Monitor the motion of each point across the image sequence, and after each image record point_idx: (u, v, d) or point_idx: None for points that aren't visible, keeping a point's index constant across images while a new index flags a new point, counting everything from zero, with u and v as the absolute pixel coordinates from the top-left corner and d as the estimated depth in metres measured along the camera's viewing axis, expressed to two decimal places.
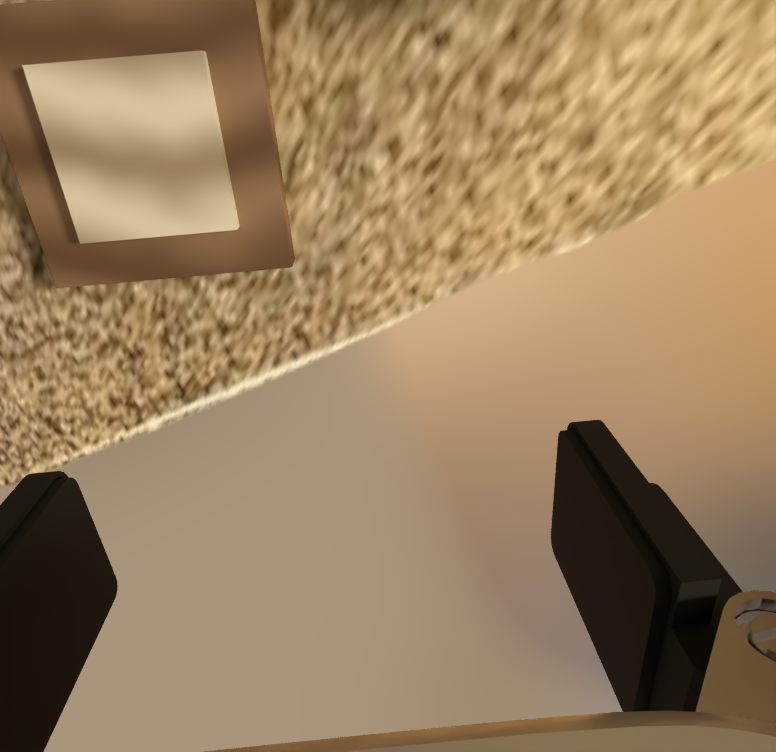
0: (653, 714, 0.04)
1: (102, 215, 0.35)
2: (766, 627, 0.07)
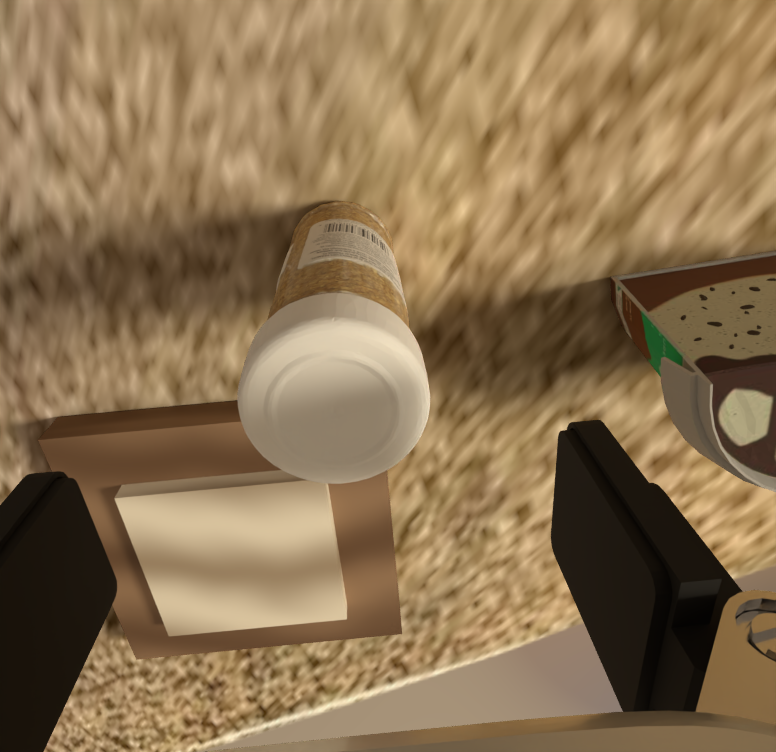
0: (653, 714, 0.04)
1: (196, 613, 0.31)
2: (766, 627, 0.07)
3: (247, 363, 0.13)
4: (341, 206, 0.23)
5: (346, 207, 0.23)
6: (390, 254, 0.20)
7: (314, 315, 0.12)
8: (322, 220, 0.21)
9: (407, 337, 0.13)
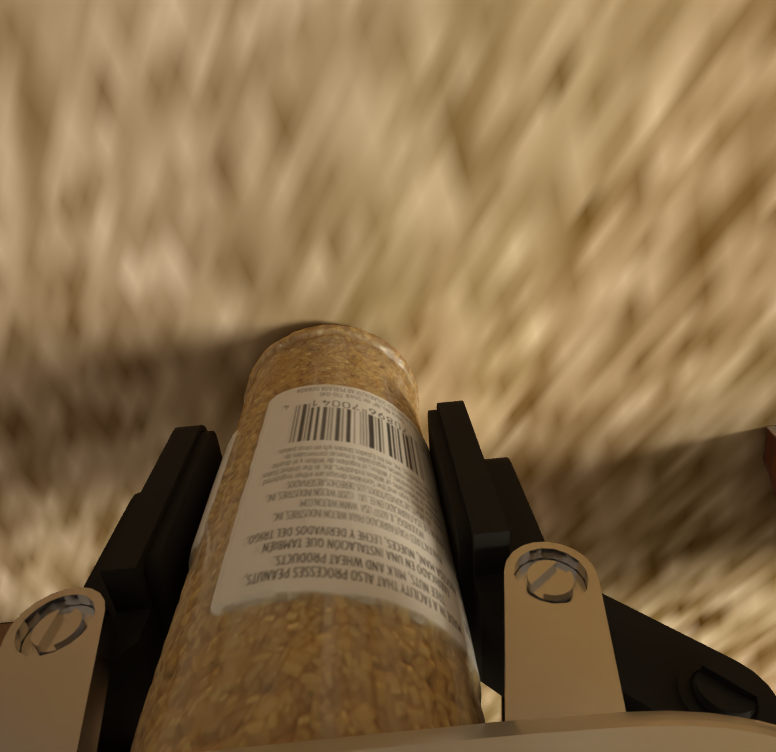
0: (653, 714, 0.04)
1: None
2: (538, 575, 0.07)
3: None
4: (330, 337, 0.13)
5: (339, 339, 0.13)
6: (423, 462, 0.10)
7: None
8: (293, 381, 0.11)
9: None
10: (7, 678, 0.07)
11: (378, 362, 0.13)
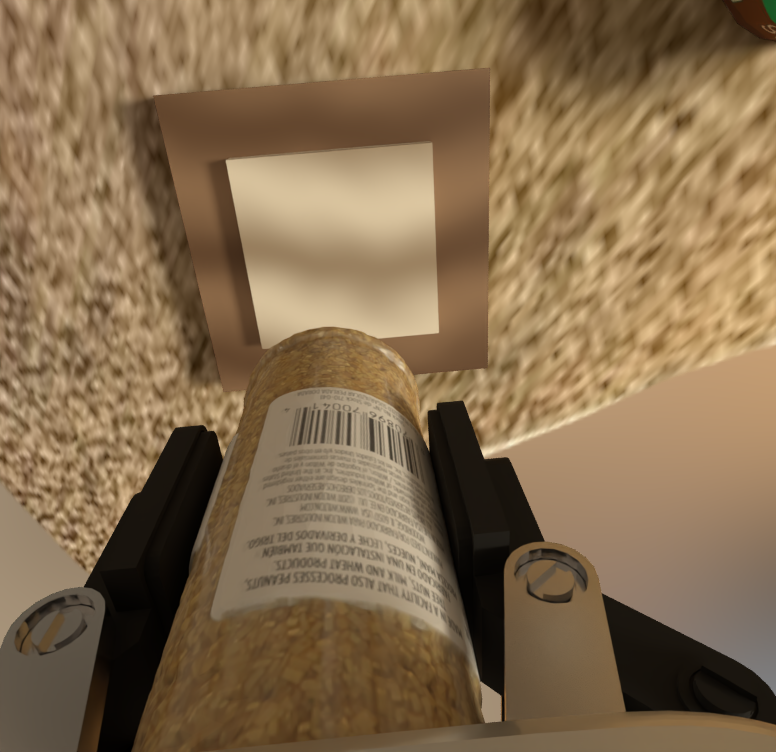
0: (653, 714, 0.04)
1: (292, 319, 0.31)
2: (538, 575, 0.07)
3: None
4: (331, 339, 0.13)
5: (339, 342, 0.13)
6: (424, 465, 0.10)
7: None
8: (294, 384, 0.11)
9: None
10: (7, 678, 0.07)
11: (379, 364, 0.13)
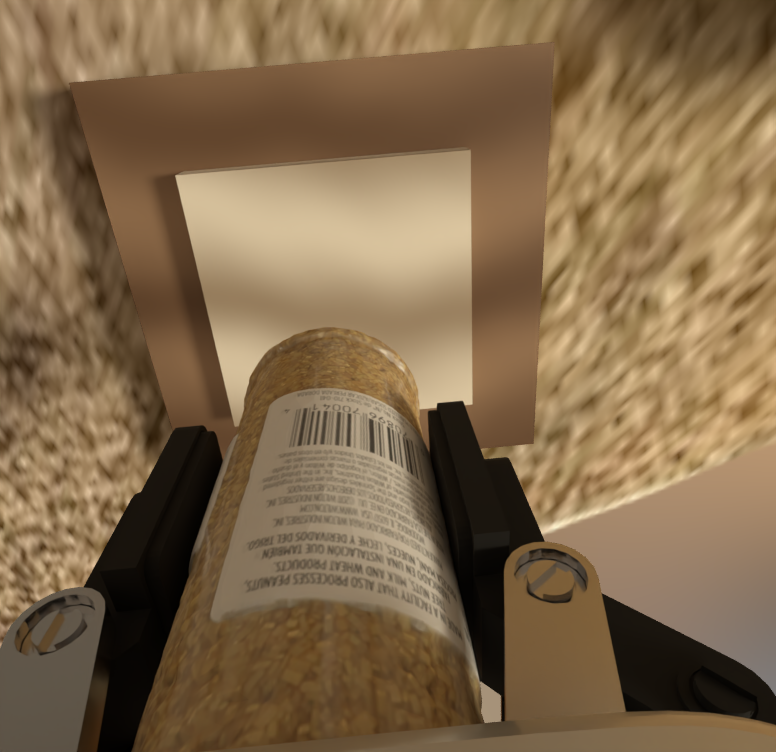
0: (653, 714, 0.04)
1: None
2: (538, 574, 0.07)
3: None
4: (331, 340, 0.13)
5: (339, 342, 0.13)
6: (424, 466, 0.10)
7: None
8: (293, 385, 0.11)
9: None
10: (7, 678, 0.07)
11: (379, 365, 0.13)
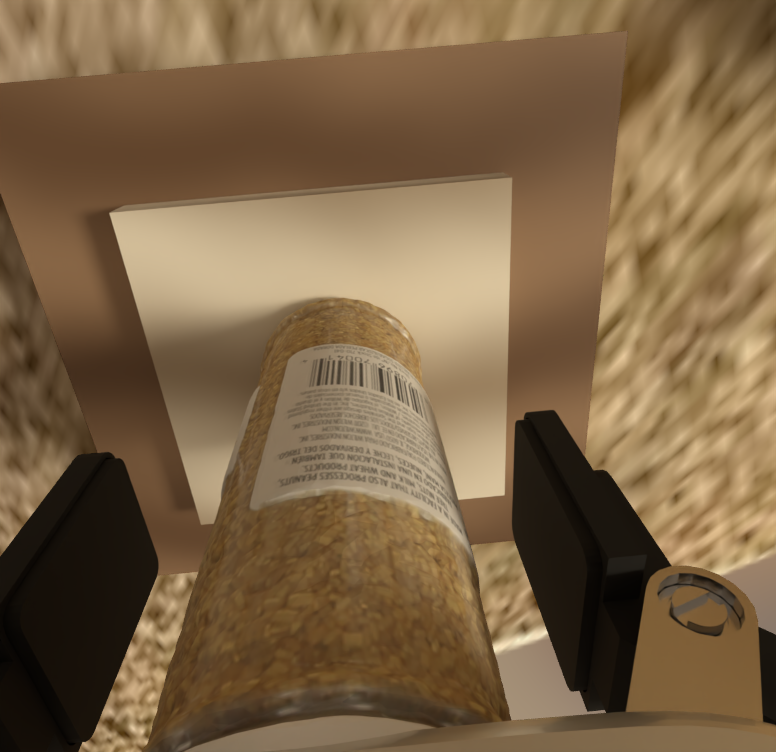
0: (653, 714, 0.04)
1: None
2: (685, 600, 0.07)
3: None
4: (341, 308, 0.14)
5: (349, 310, 0.14)
6: (427, 410, 0.12)
7: None
8: (309, 343, 0.13)
9: None
10: None
11: (385, 330, 0.14)
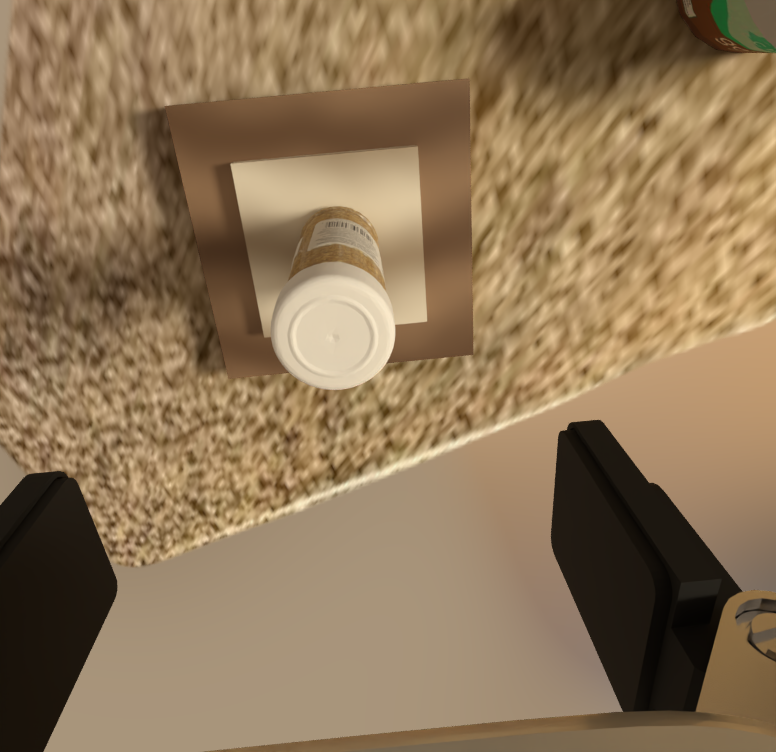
0: (653, 714, 0.04)
1: None
2: (766, 627, 0.07)
3: (277, 305, 0.20)
4: (338, 210, 0.30)
5: (342, 210, 0.30)
6: (374, 244, 0.27)
7: (320, 273, 0.19)
8: (324, 219, 0.28)
9: (380, 289, 0.20)
10: None
11: (359, 219, 0.30)
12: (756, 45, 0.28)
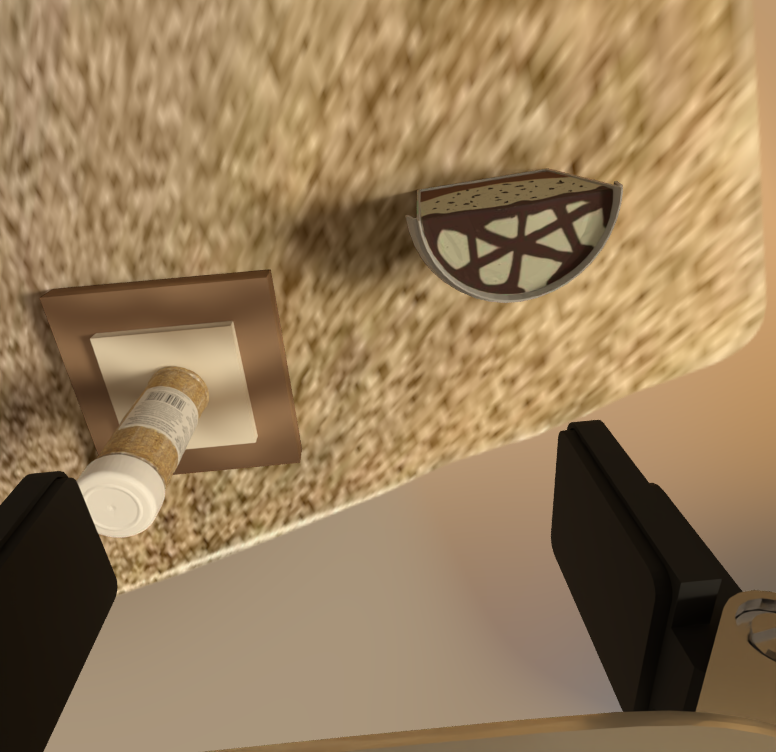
0: (653, 714, 0.04)
1: None
2: (766, 627, 0.07)
3: None
4: (172, 371, 0.41)
5: (175, 372, 0.40)
6: (185, 407, 0.38)
7: (99, 469, 0.30)
8: (154, 385, 0.39)
9: (144, 475, 0.30)
10: None
11: (186, 379, 0.40)
12: None
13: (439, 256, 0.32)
